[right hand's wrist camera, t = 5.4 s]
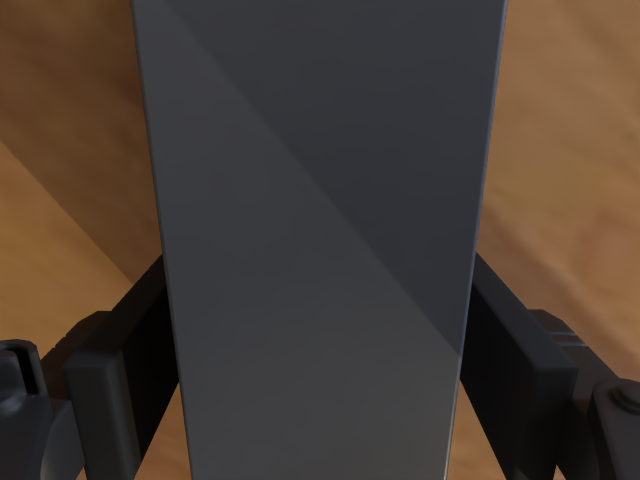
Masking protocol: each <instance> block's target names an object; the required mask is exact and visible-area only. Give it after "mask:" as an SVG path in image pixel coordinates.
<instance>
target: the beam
mask: <svg viewBox="0 0 640 480" xmlns="http://www.w3.org/2000/svg"><path fill="white" fill-rule="evenodd" d="M507 2H508V0H130V5H131V13H132V20H133V28H134V36H135V44H136V51H137V59H138V67H139V74H140V82H141V90H142V98H143V105H144V113H145V121H146V129H147V136H148V144H149V152H150V160H151V167H152V175H153V183H154V191H155V198H156V206H157V214H158V222H159V229H160V237H161V245H162V253H163V260H164V268H165V276H166V284H167V291H168V299H169V307H170V315H171V322H172V330H173V338H174V346H175V353H176V361H177V369H178V377H179V384H180V392H181V400H182V408H183V415H184V423H185V431H186V439H187V446H188V454H189V462H190V470H191V477H192V480H447V472H448V464H449V457H450V449H451V441H452V433H453V425H454V417H455V410H456V402H457V394H458V386H459V378H460V370H461V363H462V355H463V347H464V339H465V331H466V323H467V316H468V308H469V300H470V292H471V284H472V276H473V268H474V261H475V253H476V245H477V237H478V229H479V221H480V214H481V206H482V198H483V190H484V182H485V174H486V167H487V159H488V151H489V143H490V135H491V127H492V120H493V112H494V104H495V96H496V88H497V80H498V73H499V65H500V57H501V49H502V41H503V33H504V25H505V18H506V10H507Z"/></svg>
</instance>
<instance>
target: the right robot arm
mask: <svg viewBox="0 0 640 480" xmlns="http://www.w3.org/2000/svg"><path fill="white" fill-rule="evenodd" d="M55 346H56V347H55V348H52V349H51V350H50V351H49V352H48V353H47V354H46V355H45V356H44V357H43V358H42V359H41V360H40V358H39V354H38V350H37V346H36V345H35V344H33V343H32V342H30V341H26V340H19V339H14V340H2V341H0V480H76V478H77V476H78V475H79V473H80V471H81V470H82V468H83V466H84V469H85V473H86V477H87V480H134V478H135V475H136V473H137V471H138V469H139V467H140V465H141V462H142V460H143V458H144V456H145V454H146V452H147V449H148V447H149V445H150V443H151V441H152V439H153V437H154V434H155V432H156V430H157V428H158V426H159V424H160V421H161V419H162V417H163V415H164V413H165V411H166V408H167V406H168V404H169V402H170V400H171V398H172V395H173V393H174V391H175V389H176V387H177V385H178V382H179V377H178V369H177V361H176V353H175V346H174V338H173V330H172V322H171V315H170V307H169V299H168V291H167V284H166V276H165V268H164V260H163V253H162V254H161V256H160V257H159V258H158V259H157V260H156V261H155V262H154V263H153V265H152V266H151V267H150V268H149V269H148V270H147V271H146V272H145V274H144V275H143V276H142V277H141V278H140V279H139V280H138V281H137V282H136V284H135V285H134V286H133V287H132V288H131V289H130V290H129V291H128V293H127V294H126V295H125V296H124V297H123V298H122V299H121V300H120V302H119V303H118V304H117V305H116V306H115V307H114V308H113V309H112V311H97V312H95V313H93V314H91V315H90V316H88V317H86V318H84V319H83V320H81V321H79V322H78V323H77V324H76V325H75V326H74V327H73V328H72V329H71V330H70V331H69V332H68V333H67V334H66V337H63V338H62V339H61V340H60V341H59V342H58V343H57V344H56V345H55ZM460 380H461V382H462V385H463V387H464V389H465V391H466V393H467V395H468V398H469V400H470V402H471V404H472V406H473V408H474V411H475V413H476V415H477V417H478V419H479V421H480V424H481V426H482V428H483V430H484V432H485V434H486V437H487V439H488V441H489V443H490V445H491V447H492V450H493V452H494V454H495V456H496V458H497V460H498V462H499V465H500V467H501V469H502V471H503V473H504V475H505V478H506V480H553V477H554V473H555V469H556V465H557V466H558V467H559V469H560V471H561V472H562V474H563V476H564V477H565V479H566V480H640V382H636V381H633V380H629V379H621V378H619V377H618V376H617V375H616V374H615V373H614V372H613V371H612V370H611V369H610V368H609V367H608V366H607V365H606V364H605V363H604V362H603V361H602V360H601V359H600V358H599V357H598V356H597V355H596V354H595V353H594V352H593V351H592V350H591V349H590V348H589V347H588V346H585V343H584V342H583V341H582V340H581V339H580V338H579V337H578V336H577V335H574V332H573V331H572V330H571V329H570V328H569V327H568V326H567V325H566V324H565V323H564V322H563V321H562V320H560V319H559V318H557V317H555V316H553V315H552V314H550V313H548V312H546V311H544V310H528V309H527V308H526V307H525V306H524V305H523V304H522V303H521V302H520V300H519V299H518V298H517V297H516V296H515V295H514V294H513V293H512V291H511V290H510V289H509V288H508V287H507V286H506V285H505V284H504V282H503V281H502V280H501V279H500V278H499V277H498V276H497V275H496V274H495V272H494V271H493V270H492V269H491V268H490V267H489V266H488V265H487V263H486V262H485V261H484V260H483V259H482V258H481V257H480V256H479V254H478V253H477V252H476V253H475V261H474V268H473V276H472V284H471V292H470V300H469V308H468V316H467V323H466V331H465V339H464V347H463V355H462V363H461V370H460Z"/></svg>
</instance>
